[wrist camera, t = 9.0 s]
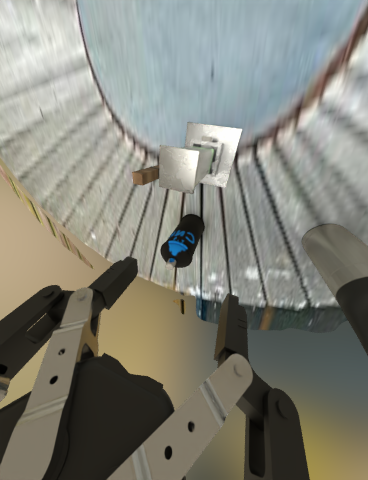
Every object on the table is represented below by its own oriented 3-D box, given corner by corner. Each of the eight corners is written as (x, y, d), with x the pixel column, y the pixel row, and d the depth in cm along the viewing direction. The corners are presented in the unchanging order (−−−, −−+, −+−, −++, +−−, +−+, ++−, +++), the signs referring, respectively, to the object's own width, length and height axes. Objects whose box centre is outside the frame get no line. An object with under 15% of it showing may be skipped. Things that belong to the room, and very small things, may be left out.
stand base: (242, 129, 30) (242, 126, 25) (225, 186, 37) (223, 194, 32) (188, 122, 32) (178, 118, 27) (182, 178, 40) (173, 183, 34)
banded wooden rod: (173, 164, 38) (142, 173, 26) (173, 172, 40) (142, 185, 27) (166, 162, 39) (132, 171, 26) (166, 171, 40) (133, 183, 27)
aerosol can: (203, 238, 48) (186, 283, 33) (180, 233, 50) (154, 275, 34) (206, 215, 44) (187, 256, 28) (180, 212, 46) (150, 248, 30)
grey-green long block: (216, 148, 27) (199, 151, 15) (211, 173, 30) (192, 194, 18) (193, 144, 28) (159, 145, 16) (190, 169, 31) (159, 186, 19)
